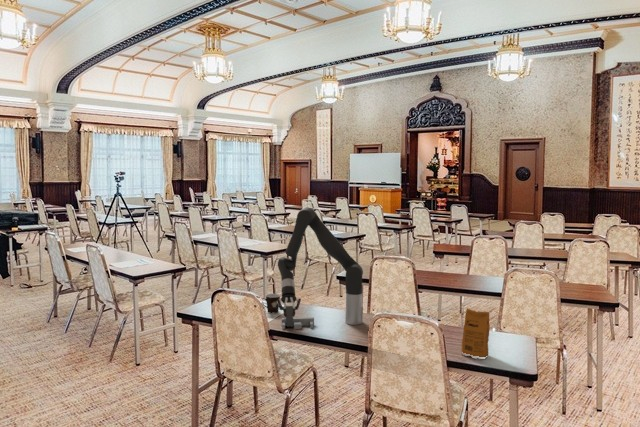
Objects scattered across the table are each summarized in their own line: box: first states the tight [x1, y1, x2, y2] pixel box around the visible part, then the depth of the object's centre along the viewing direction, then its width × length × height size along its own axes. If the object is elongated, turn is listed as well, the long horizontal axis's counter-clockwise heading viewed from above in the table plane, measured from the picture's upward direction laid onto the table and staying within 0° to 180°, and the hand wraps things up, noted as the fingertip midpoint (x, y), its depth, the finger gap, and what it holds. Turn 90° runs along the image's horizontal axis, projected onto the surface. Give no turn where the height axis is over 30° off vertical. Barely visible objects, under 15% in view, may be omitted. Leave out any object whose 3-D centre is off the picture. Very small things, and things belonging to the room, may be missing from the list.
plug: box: [285, 302, 294, 327], centre depth 265 cm, size 4×4×12 cm
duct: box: [280, 316, 315, 330], centre depth 268 cm, size 18×7×4 cm, turn 98°
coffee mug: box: [261, 293, 281, 314], centre depth 295 cm, size 12×9×10 cm
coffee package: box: [461, 308, 490, 357], centre depth 229 cm, size 10×12×22 cm
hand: (289, 316), depth 263 cm, fingers closed on plug, 3 cm apart
